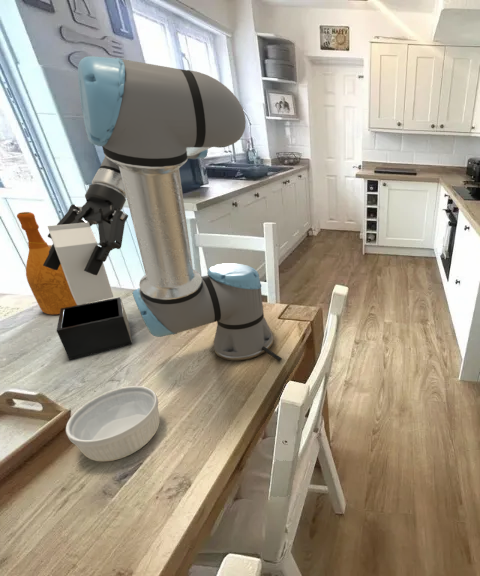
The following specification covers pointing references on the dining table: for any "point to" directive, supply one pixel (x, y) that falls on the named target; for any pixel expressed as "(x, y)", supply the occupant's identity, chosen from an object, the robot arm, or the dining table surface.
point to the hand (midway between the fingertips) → (70, 270)
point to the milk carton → (79, 262)
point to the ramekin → (115, 423)
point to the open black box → (93, 328)
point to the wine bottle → (44, 271)
